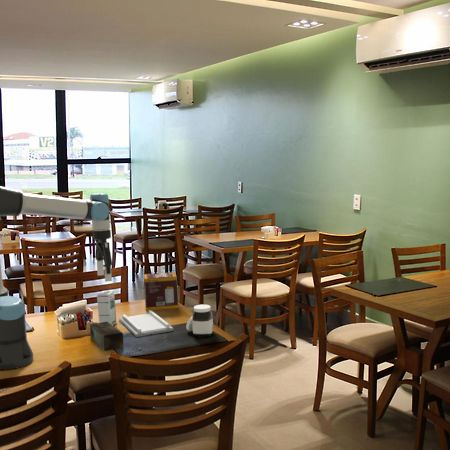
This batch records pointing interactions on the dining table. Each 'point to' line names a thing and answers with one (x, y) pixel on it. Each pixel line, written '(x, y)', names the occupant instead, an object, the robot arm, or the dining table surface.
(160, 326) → the panel
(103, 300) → the syrup box
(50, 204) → the robot arm
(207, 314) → the spread jar
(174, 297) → the supplement box
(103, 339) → the dark grey rectangular block
